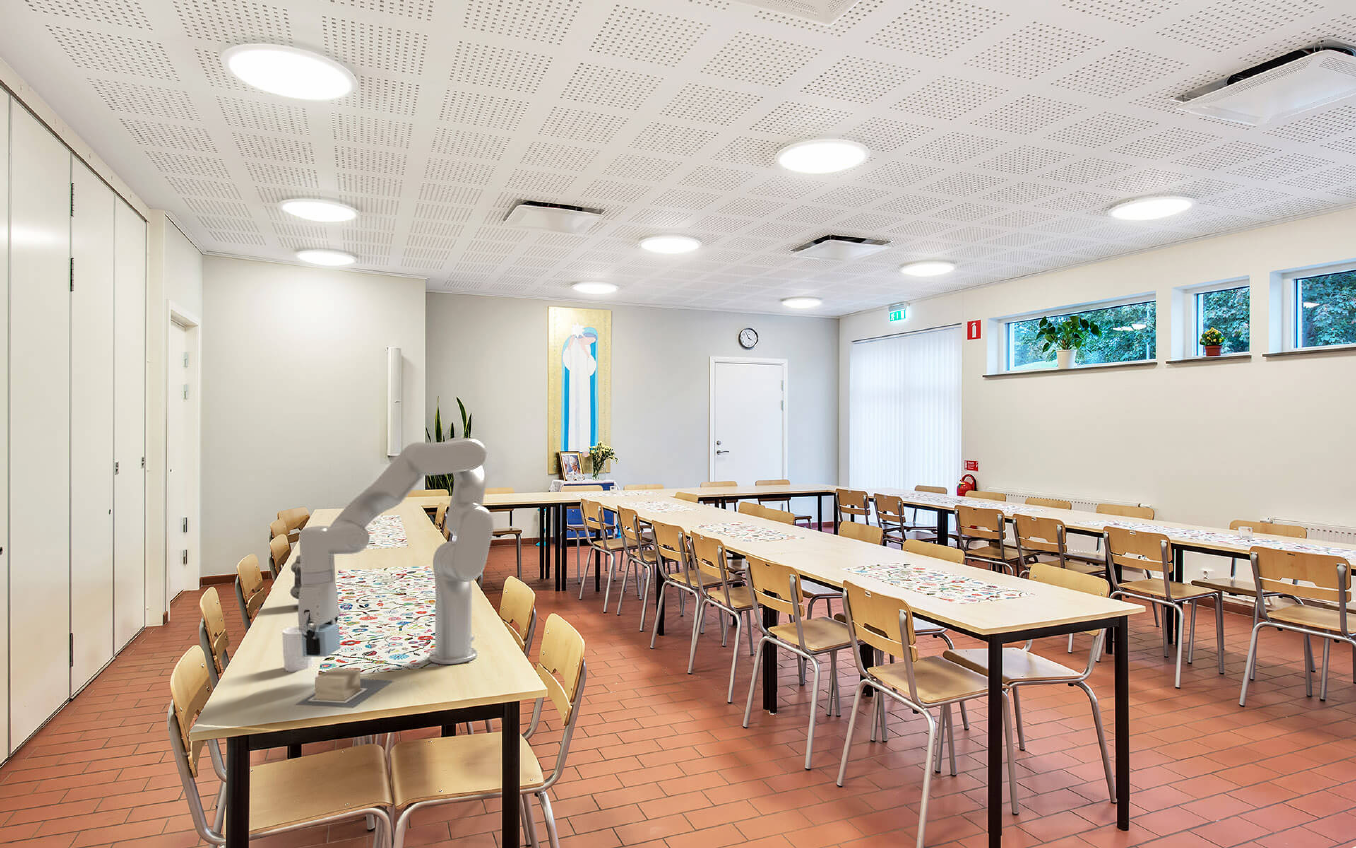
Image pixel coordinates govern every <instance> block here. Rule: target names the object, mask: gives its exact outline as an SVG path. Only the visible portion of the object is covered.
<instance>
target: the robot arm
mask: <svg viewBox="0 0 1356 848" xmlns="http://www.w3.org/2000/svg"><path fill="white" fill-rule="evenodd" d="M486 458H487V449H486V447H485V445H484V444H483V443H482V442H481V441H480V440H478V439H476V438H471V437H453V438H449V439H447V440H446V441H440V442H421V441H420V442H419V441H418V442H412V443H410V444H409V445H407V446H406V447H405V448H403V450H402V451H401V452H400V453H399V454H398V455H397V456H396V457H395V459H394V460H392V462H391V463H390V464H389V466H388V467H387V468H385V470H384V471H383V472H382V473H381V475H380V476H379V477H378V478H377V479H376V480H375V481H374V482H373V483H372V484H371V485H369V486H368V487H367V488H366V489H364V491H362V493H360V494H358V496H357V497H355V498H354V499H353V500H352V501H351V502H350V503H348V505H347V506H345V508H344V509H343V510H341V513H339V515H338V516H337V517H336V518H335V519H334V520H333V521H332V523H331V524H330V526H328V525H314V526H309V527H305V528H303V529H301V530H300V531H299V535H298V536H299V537H298V538H299V539H298V541H299V543H298V544H299V555H300V563H301V585H302V586H301V587H300V592H299V599H298V603H297V604H298V610H297V612H298V613H297V619H298V626H299V628H298V630H299V631H300V632H301V633H302V635H303V636H304V639H306V654H307V655H319V654H320V642H319V638H317V637H318V631H319V626H321V625H337V623H338V620H339V617H340V614H341V609H340V608H339V598H338V597H339V596H338V590H337V589H338V588H337V584H336V568H335V567H336V566H335V565H336V564H335V563H336V562H335V555H353V554H354V555H355V554H358V553H360V552H363V550H365V549H366V548H367V546H368V545H369V543H370V534H369V531H368V530H367V526H368V525H369V524H370V523H371V522H373V521H374V520H375V519H376V518H377V517H378V516H380V515H381V514H383V513H385V512H386V511H387V512H388V511H389V510H391V509H393V508H395V507H397V506H399V505H400V504H401V503H402V502H403V501H404V500H405V499H406V498H407V497H408V496H409V494H410V493H411V492H412V491H413V490H414V488H415V487H417V485H418V484H419V483H420V481H421V480H423V478H424V477H425V476H438V475H439V476H440V475H447V474H452V476H453V489H452V494H451V499H450V503H449V507H448V511H447V515H446V519H445V526H446V528H447V530H448V532H449V533H450V534H452V535H453V536H456V539H455V540H450V541H446V542H443V543H441V544H440V545H439V546H438V547H437V549H436V550H435V552H434V554H433V559H432V567H433V576H434V583H435V588H434V589H435V590H434V591H435V601H434V604H435V606H434V610H435V611H434V612H435V613H434V614H435V615H434V616H435V618H434V619H435V620H434V625H435V626H434V628H435V630H434V650H433V651H432V652H430V653H429V655H428V660H429V661H430V662H432V663H433V664H438V665H439V664H441V665H455V664H461V663H467V662H469V661H472V660H474V659H476V657H477V656H478V651H477V649H475V648H473V647H472V642H473V641H474V640H475V636H474V634H472V618H473V617H472V615H473V614H472V610H473V609H472V608H473V607H472V605H473V603H472V601H473V600H472V599H473V594H472V593H473V589H472V582H473V581H474V580H476V579H478V578H479V577H480V576H481V575H482V573H483V572H484V569H485V567H486V564H487V561H488V556H489V551H490V547H491V543H492V537H493V535H494V534H493V533H494V527H495V526H494V517H493V516H492V513H491V512H490V510H488V508H487V507H485V506H483V504H484V499H485V493H486V485H487V484H486V483H487V479H486V474H485V473H486V472H485V470H484V467H483V464H484V463H485V461H486ZM310 628H314V632H312V631H311V630H310Z"/></svg>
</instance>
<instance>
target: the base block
mask: <svg viewBox="0 0 1356 848" xmlns="http://www.w3.org/2000/svg"><path fill="white" fill-rule="evenodd" d="M360 679H361V669H358V668H341V667H340V668H339V667H332V668H330V669H328V670H326V671H325V672H323V673H321V674H319V675H317V676H315V677H314V693H315V699H318V700H336V701H344V700H346V699H347V698H349V697H351V696H352V695H354V694H355V693H357V692H358V691H360Z"/></svg>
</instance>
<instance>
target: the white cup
mask: <svg viewBox="0 0 1356 848" xmlns="http://www.w3.org/2000/svg"><path fill="white" fill-rule="evenodd" d="M298 628H299V625H298V626H296V625H295V626H292V627H288V628H285V629H283V630H282V631H281V632H282V651H283V655H282V657H283V663H284V664H283V665H284V667H283V668H284V671H286V672H290V673H291V672H292V673H293V672H298V671H303V670H306V669H309V668H311V667H313V666H314V665H315V664H314V663H315V662H314V661H315V657H303V649H302V633H301V632H300V631H299V630H298Z"/></svg>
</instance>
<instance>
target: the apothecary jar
mask: <svg viewBox="0 0 1356 848" xmlns="http://www.w3.org/2000/svg"><path fill="white" fill-rule="evenodd" d="M290 570H291V571H292V572H293V574H294V584H293V586H292V587H291V589H290V591H289V592H290V595H291V596H292V598H294V599H296V600H299V592H300V587H301V586H302V585H301V563H300V554H299V555H296V558H295V561H294V562H293V563H292V564H291V565H290ZM293 609H294V610H297V609H298V603H297V604H295V605H294V607H293Z"/></svg>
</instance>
